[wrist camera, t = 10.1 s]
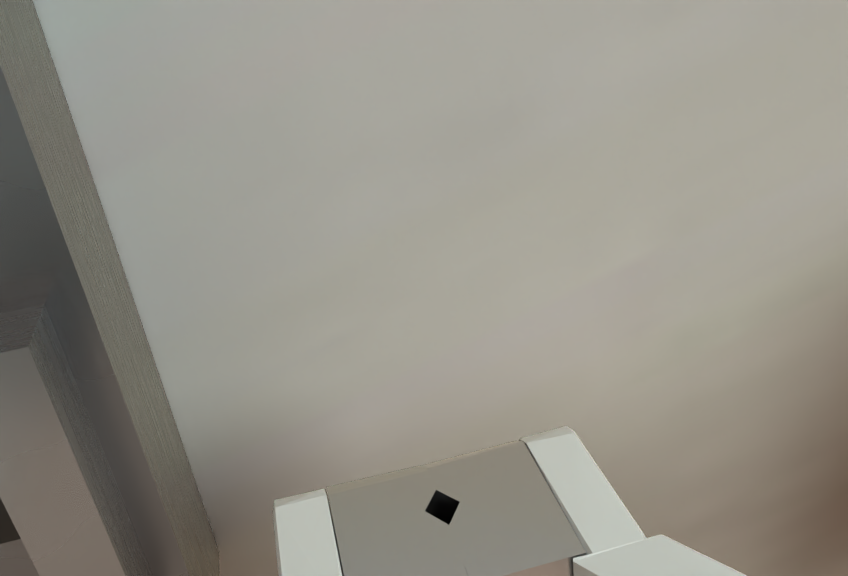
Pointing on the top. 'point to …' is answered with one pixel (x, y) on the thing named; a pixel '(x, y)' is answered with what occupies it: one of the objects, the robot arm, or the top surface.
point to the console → (76, 359)
